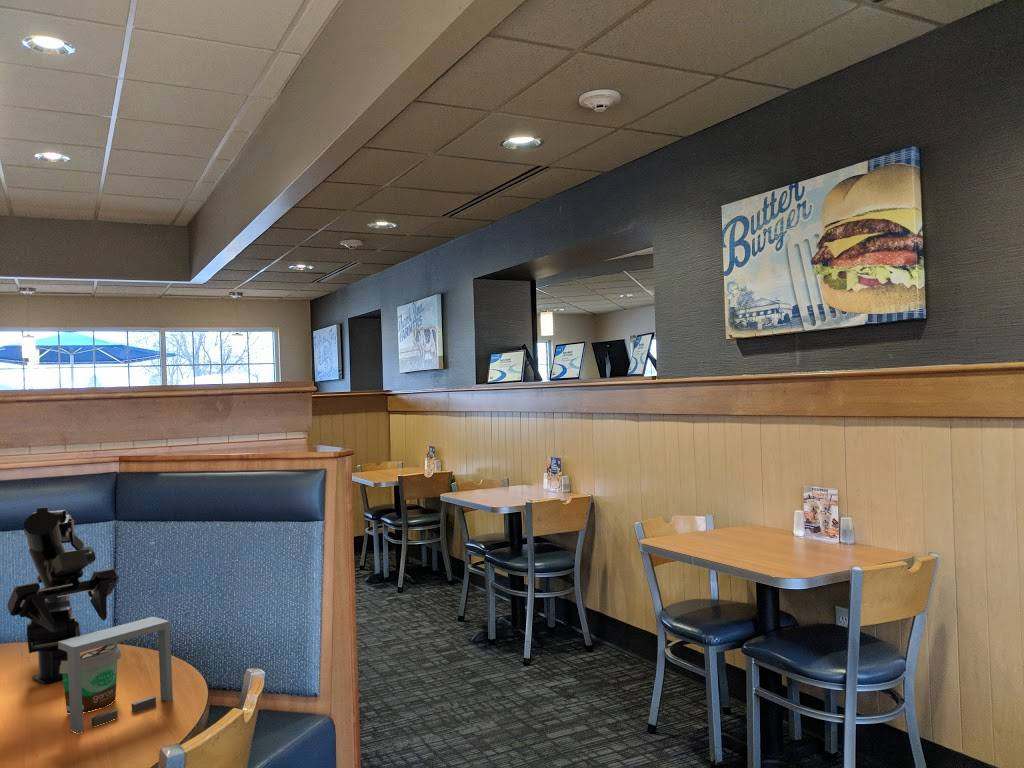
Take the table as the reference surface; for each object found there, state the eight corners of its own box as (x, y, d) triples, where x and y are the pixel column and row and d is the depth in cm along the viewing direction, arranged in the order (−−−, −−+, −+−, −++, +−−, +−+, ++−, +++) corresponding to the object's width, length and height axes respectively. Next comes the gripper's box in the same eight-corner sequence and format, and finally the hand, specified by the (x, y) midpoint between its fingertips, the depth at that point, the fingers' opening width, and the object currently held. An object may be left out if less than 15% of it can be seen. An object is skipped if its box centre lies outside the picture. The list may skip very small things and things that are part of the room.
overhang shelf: (61, 726, 136) (57, 641, 136) (156, 693, 150) (153, 616, 150) (77, 734, 132) (73, 647, 132) (172, 700, 146) (169, 621, 146)
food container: (90, 719, 139) (88, 662, 139) (60, 718, 140) (58, 662, 140) (137, 692, 151) (135, 640, 151) (109, 691, 152) (107, 639, 152)
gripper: (12, 543, 146) (40, 608, 139) (112, 528, 161) (142, 586, 154) (-5, 582, 150) (22, 648, 143) (95, 565, 165) (123, 623, 158)
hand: (80, 624), depth 150 cm, fingers open, 9 cm apart
